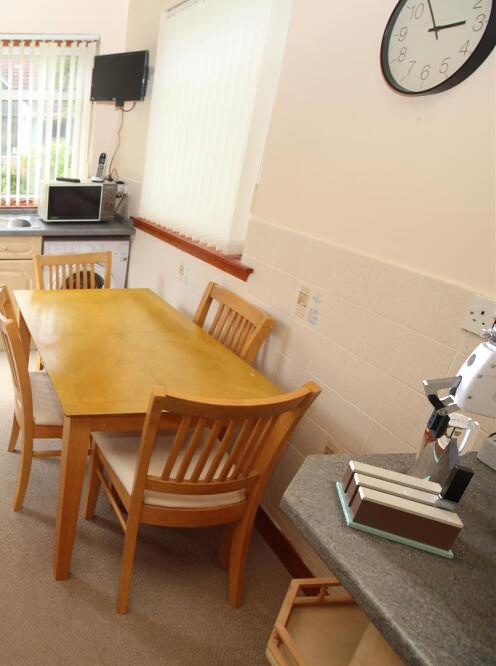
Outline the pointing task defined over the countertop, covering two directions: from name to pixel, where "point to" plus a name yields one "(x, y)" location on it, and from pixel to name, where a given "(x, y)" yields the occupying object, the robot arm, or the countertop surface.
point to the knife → (454, 488)
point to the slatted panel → (397, 508)
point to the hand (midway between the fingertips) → (473, 443)
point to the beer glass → (444, 449)
